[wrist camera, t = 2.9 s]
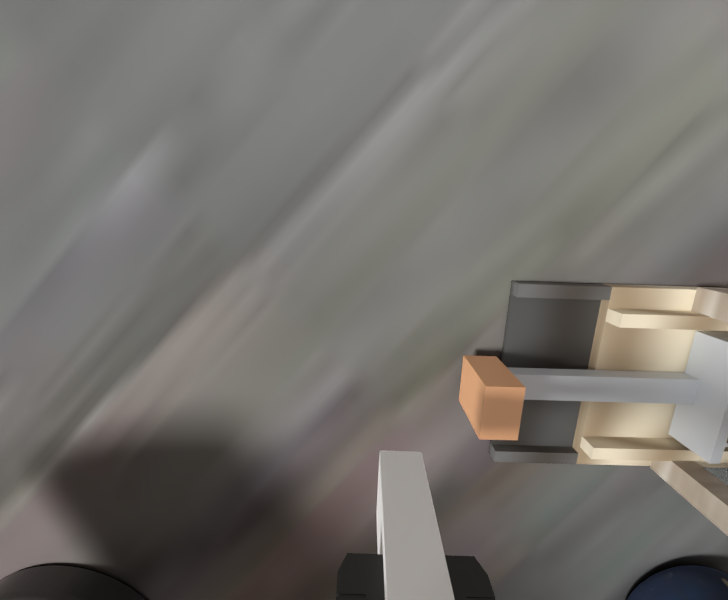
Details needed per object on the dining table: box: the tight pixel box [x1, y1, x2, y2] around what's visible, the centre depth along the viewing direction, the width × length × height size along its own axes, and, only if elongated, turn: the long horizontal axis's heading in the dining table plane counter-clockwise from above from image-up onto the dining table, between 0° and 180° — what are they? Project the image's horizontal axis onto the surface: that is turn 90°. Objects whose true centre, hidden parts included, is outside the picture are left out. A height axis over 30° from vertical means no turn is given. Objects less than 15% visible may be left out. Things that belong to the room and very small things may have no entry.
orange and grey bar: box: [459, 331, 728, 464], centre depth 20 cm, size 21×7×4 cm, turn 88°
